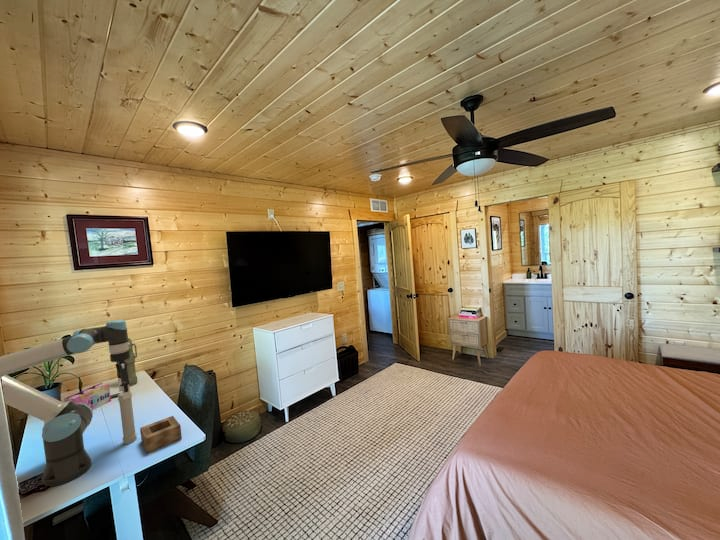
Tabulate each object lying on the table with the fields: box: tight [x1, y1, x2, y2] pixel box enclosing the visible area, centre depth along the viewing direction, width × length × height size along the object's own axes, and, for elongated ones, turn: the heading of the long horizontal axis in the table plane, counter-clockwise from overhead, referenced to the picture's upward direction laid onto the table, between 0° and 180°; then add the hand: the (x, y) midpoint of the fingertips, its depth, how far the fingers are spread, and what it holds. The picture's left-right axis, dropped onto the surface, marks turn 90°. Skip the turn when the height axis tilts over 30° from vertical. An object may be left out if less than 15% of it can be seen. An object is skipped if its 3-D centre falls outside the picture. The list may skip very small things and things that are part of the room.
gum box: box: [63, 382, 112, 412], centre depth 188 cm, size 22×7×13 cm, turn 170°
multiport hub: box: [110, 391, 122, 400], centre depth 204 cm, size 4×11×2 cm, turn 131°
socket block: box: [139, 415, 183, 454], centre depth 148 cm, size 14×14×7 cm
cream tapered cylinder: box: [117, 381, 138, 445], centre depth 149 cm, size 6×6×30 cm
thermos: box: [124, 337, 138, 388], centre depth 221 cm, size 9×12×35 cm
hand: (124, 394), depth 148 cm, fingers open, 13 cm apart
